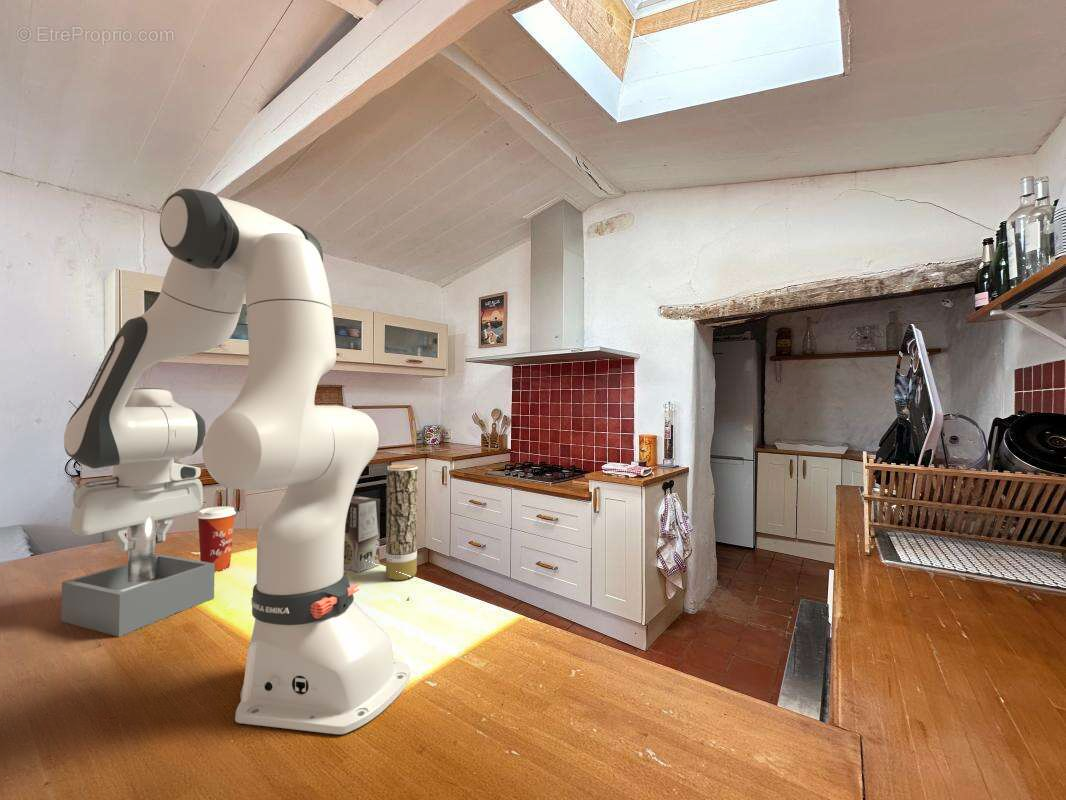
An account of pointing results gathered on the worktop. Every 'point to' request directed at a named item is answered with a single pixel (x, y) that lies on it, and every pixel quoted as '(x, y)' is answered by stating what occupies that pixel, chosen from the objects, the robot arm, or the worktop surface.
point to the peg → (142, 551)
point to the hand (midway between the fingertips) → (142, 546)
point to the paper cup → (216, 535)
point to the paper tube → (401, 521)
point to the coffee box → (362, 534)
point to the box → (136, 595)
